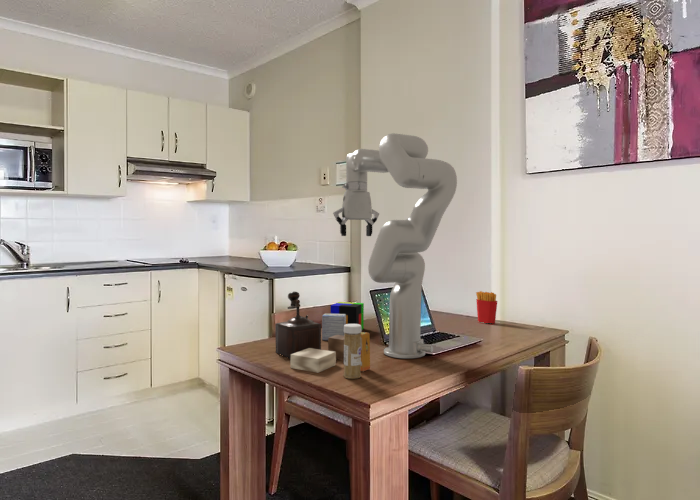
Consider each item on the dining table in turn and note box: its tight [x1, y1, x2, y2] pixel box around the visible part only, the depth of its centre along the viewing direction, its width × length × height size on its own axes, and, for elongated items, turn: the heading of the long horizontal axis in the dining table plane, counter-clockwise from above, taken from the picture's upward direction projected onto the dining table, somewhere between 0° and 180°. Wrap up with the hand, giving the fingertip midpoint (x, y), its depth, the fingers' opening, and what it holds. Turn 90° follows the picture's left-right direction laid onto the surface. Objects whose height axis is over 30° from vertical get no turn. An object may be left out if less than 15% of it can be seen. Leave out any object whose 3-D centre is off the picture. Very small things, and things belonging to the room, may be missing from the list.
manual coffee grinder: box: [274, 291, 322, 359], centre depth 151 cm, size 16×11×18 cm
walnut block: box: [327, 335, 344, 361], centre depth 145 cm, size 5×5×6 cm
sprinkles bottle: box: [343, 324, 363, 380], centre depth 125 cm, size 5×5×13 cm
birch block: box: [289, 348, 337, 373], centre depth 135 cm, size 9×9×4 cm
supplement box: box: [360, 331, 371, 373], centre depth 132 cm, size 3×3×10 cm
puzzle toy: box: [330, 301, 365, 330], centre depth 185 cm, size 10×10×10 cm
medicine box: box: [321, 313, 346, 341], centre depth 169 cm, size 8×4×9 cm, turn 84°
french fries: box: [475, 290, 498, 324], centre depth 203 cm, size 9×4×13 cm, turn 41°
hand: (356, 236), depth 175 cm, fingers open, 9 cm apart
